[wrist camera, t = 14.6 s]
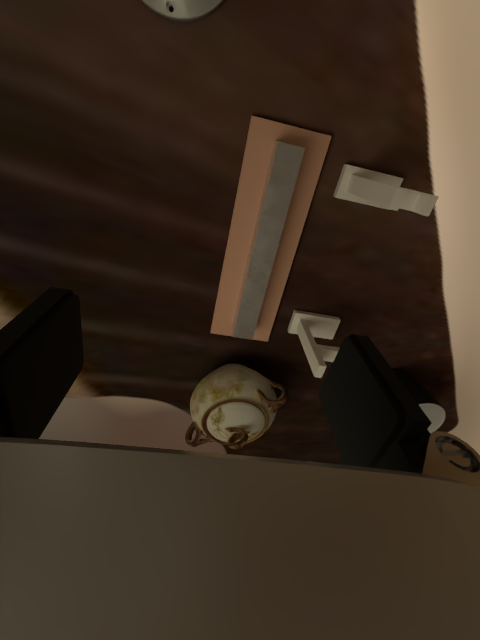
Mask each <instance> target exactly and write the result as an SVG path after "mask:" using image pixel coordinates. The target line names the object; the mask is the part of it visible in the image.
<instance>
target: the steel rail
mask: <svg viewBox="0 0 480 640" xmlns="http://www.w3.org/2000/svg"><path fill="white" fill-rule="evenodd" d="M304 150H305V148H303V147H299V146H295V145H291V144H287V143H283V142H279V141H274V144H273V149H272V153H271V158H270V162H269V166H268V171H267V175H266V180H265V184H264V188H263V193H262V197H261V202H260V206H259V210H258V215H257V219H256V224H255V228H254V232H253V237H252V241H251V246H250V250H249V254H248V259H247V263H246V268H245V272H244V276H243V281H242V285H241V290H240V294H239V298H238V303H237V307H236V312H235V316H234V320H233V325H232V332H233V337H238V338H245V339H253V336H254V332H255V328H256V325H257V321H258V318H259V314H260V310H261V307H262V303H263V299H264V296H265V292H266V289H267V285H268V281H269V278H270V274H271V270H272V267H273V263H274V259H275V256H276V252H277V249H278V245H279V241H280V238H281V234H282V230H283V227H284V223H285V220H286V216H287V212H288V209H289V205H290V201H291V198H292V194H293V190H294V187H295V183H296V180H297V176H298V172H299V169H300V165H301V161H302V158H303V154H304Z"/></svg>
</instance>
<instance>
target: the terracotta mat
mask: <svg viewBox="0 0 480 640" xmlns="http://www.w3.org/2000/svg"><path fill="white" fill-rule="evenodd" d="M330 140H331V136H329V135H325V134H321V133H317V132H314V131H310V130H306V129H302V128H298V127H294V126H290V125H287V124H283V123H279V122H275V121H271V120H267V119H263V118H260V117H256V116H251V121H250V126H249V131H248V137H247V142H246V147H245V152H244V158H243V163H242V168H241V174H240V179H239V184H238V189H237V195H236V200H235V205H234V210H233V216H232V221H231V226H230V232H229V237H228V242H227V247H226V253H225V258H224V263H223V269H222V274H221V279H220V284H219V290H218V295H217V300H216V305H215V311H214V316H213V321H212V327H211V333H213V334H220V335H227V336H233V332H232V325H233V320H234V316H235V312H236V307H237V303H238V298H239V294H240V290H241V285H242V281H243V276H244V272H245V268H246V263H247V259H248V254H249V250H250V246H251V241H252V237H253V232H254V228H255V224H256V219H257V215H258V210H259V206H260V202H261V197H262V193H263V188H264V184H265V180H266V175H267V171H268V166H269V162H270V158H271V153H272V149H273V144H274V141H279V142H283V143H287V144H291V145H295V146H299V147H303V148H305V150H304V154H303V158H302V161H301V165H300V169H299V172H298V176H297V180H296V183H295V187H294V190H293V194H292V198H291V201H290V205H289V209H288V212H287V216H286V220H285V223H284V227H283V230H282V234H281V238H280V241H279V245H278V249H277V252H276V256H275V259H274V263H273V267H272V270H271V274H270V278H269V281H268V285H267V289H266V292H265V296H264V299H263V303H262V307H261V310H260V314H259V318H258V321H257V325H256V328H255V332H254V336H253V339H254V340H261V341H268V339H269V336H270V333H271V329H272V326H273V323H274V320H275V316H276V313H277V310H278V307H279V304H280V300H281V297H282V294H283V291H284V288H285V284H286V281H287V278H288V275H289V271H290V268H291V265H292V262H293V259H294V255H295V252H296V249H297V246H298V243H299V239H300V236H301V233H302V230H303V226H304V223H305V220H306V217H307V214H308V210H309V207H310V204H311V201H312V198H313V194H314V191H315V188H316V185H317V181H318V178H319V175H320V172H321V169H322V165H323V162H324V159H325V156H326V153H327V149H328V146H329V143H330Z"/></svg>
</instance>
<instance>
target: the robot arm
mask: <svg viewBox="0 0 480 640" xmlns="http://www.w3.org/2000/svg"><path fill="white" fill-rule="evenodd" d="M141 1H142V2H143V3H144V4H145V5H146V6H147V7H148V8H149V9H151V10H152V11H154V12H155V13H157V14H158V15H160V16H161V17H164V18H166V19H169V20H172V21H177V22H191V21H197V20H200V19H202V18H204V17H206V16H208V15H210V14H211V13H212V12H213V11H215V10H216V9H217V8H218V7H219V6H220V5H221V4H222V3H223V1H224V0H141ZM170 7H173V8H174V11H173V12H170V11H169V8H170ZM83 362H84V357H83V343H82V329H81V315H80V301H79V297H78V296H77V295H74V293H73V291H72V290H68V289H62V288H56V287H51V288H49V289H48V290H47V291H46V292H45V293H43V294H42V295H41V296H40V297H39V298H37V299H36V300H35V301H34V302H33V303H32V304H30V305H29V306H28V307H27V308H26V309H24V310H23V311H22V312H21V313H20V314H19V315H17V316H16V317H15V318H14V319H13V320H11V321H10V322H9V323H8V324H7V325H6V326H4V327H3V328H2V329H1V330H0V640H480V455H479V454H478V453H477V452H476V451H475V450H474V449H473V448H472V447H471V446H469V445H468V444H467V443H465V442H464V441H462V440H461V439H459V438H458V437H456V436H454V435H451V434H449V433H445V432H438V431H436V432H434V433H432V434H430V432H429V431H428V427H429V426H430V425H431V423H432V422H431V421H430V420H429V418H428V417H427V416H426V414H425V413H424V412H423V410H422V409H421V408H420V406H419V405H418V403H417V402H416V401H415V399H414V398H413V397H412V395H411V394H410V393H409V391H408V390H407V389H406V387H405V386H404V385H403V383H402V382H401V380H400V379H399V378H398V376H397V375H396V374H395V372H394V371H393V370H392V368H391V367H390V366H389V364H388V363H387V361H386V360H385V359H384V357H383V356H382V355H381V353H380V352H379V351H378V349H377V348H376V347H375V345H374V344H373V343H372V341H371V340H370V338H368V337H367V336H361V335H354V334H352V335H350V336H349V337H346V338H345V339H344V340H343V342H342V344H341V346H340V349H339V351H338V353H337V355H336V357H335V359H334V361H333V364H332V366H331V368H330V370H329V372H328V374H327V377H326V379H325V381H324V383H323V385H322V387H321V390H320V401H321V403H322V406H323V409H324V411H325V414H326V417H327V419H328V422H329V425H330V427H331V430H332V433H333V435H334V438H335V441H336V443H337V446H338V449H339V451H340V454H341V457H342V460H343V462H344V465H339V464H328V463H318V462H307V461H296V460H286V459H275V458H264V457H252V456H241V455H230V454H218V453H207V452H195V451H183V450H172V449H160V448H147V447H135V446H124V445H110V444H99V443H87V442H73V441H59V440H44V439H39V437H40V436H41V434H42V432H43V431H44V429H45V428H46V426H47V424H48V423H49V421H50V420H51V418H52V416H53V414H54V413H55V412H56V410H57V408H58V407H59V405H60V403H61V402H62V400H63V399H64V397H65V395H66V394H67V392H68V391H69V389H70V387H71V386H72V384H73V383H74V381H75V379H76V378H77V376H78V374H79V373H80V371H81V369H82V367H83Z"/></svg>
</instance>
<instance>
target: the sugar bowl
mask: <svg viewBox="0 0 480 640" xmlns="http://www.w3.org/2000/svg"><path fill="white" fill-rule="evenodd" d="M273 387H276V388H278V389H280V390H281V391H282V394H281V396H280V397H279V398H276V394H275V391H274V389H273ZM287 399H288V391H287V389H286V387H285V386H284V385H282V384H280V383H277V382H274V381H273V380H270V379H269V378H267V377H263V376H262V375H261V374H260V373H258V372H256V371H255V370H253V369H250V368H247V367H246V366H244V365H241V364H227V365H224V366H221V367H219V368H218V369H216V370H214V371H213V372H211V373H210V374H208V375H207V376H206V377H205V378H203V379H202V380H201V381H200V383H199V384H198V385H197V386H196V388H195V390H194V392H193V394H192V397H191V402H190V411H191V416H192V419H193V422H192V424H191V425H190V427H189V428H188V430H187V433H186V436H185V438H186V442H187V444H188V445H190V446H193V447H196V446H198V445H200V444H203V443H206V442H217V443H220V444H224V445H228V447H230V448H233V449H239V448H242V446H243V445H244V444H247V443H250V442H252V441H254V440H256V439H258V438H259V437H260V436H262V435H263V434H264V433H265V431H266V430H267V429H268V428H269V427H270V426H271V424H272V422H273V420H274V418H275V415H276V411H277V409H278V408H280V407H282V406H283V405H284V404H285V403H286V401H287ZM195 428H196V437H195V438H194V439H193V440H191V439H192V434H193V431H194V429H195ZM201 432H202V433H203V434H204V435H206V436H207V437H205V438H203V439H200V437H201Z"/></svg>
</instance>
